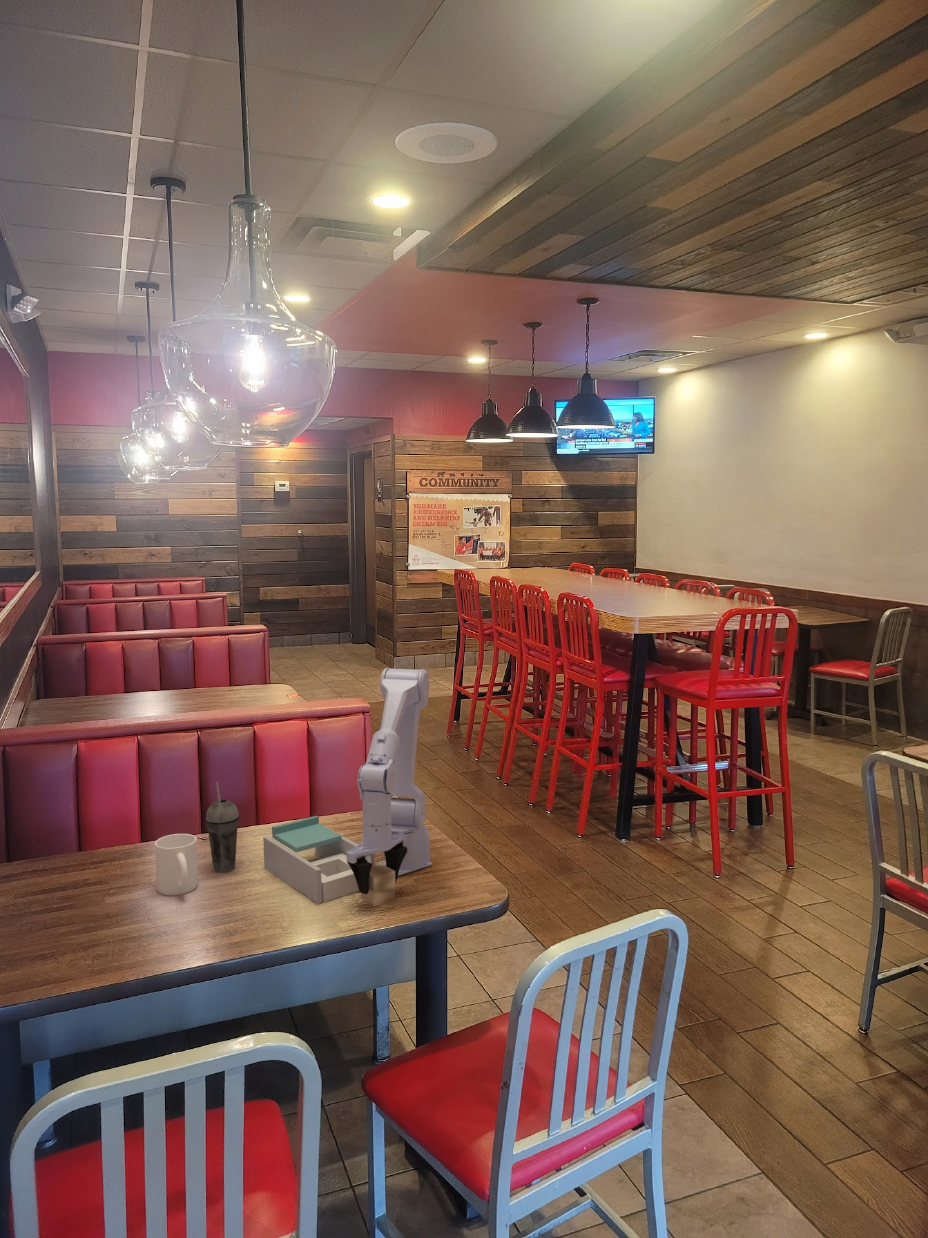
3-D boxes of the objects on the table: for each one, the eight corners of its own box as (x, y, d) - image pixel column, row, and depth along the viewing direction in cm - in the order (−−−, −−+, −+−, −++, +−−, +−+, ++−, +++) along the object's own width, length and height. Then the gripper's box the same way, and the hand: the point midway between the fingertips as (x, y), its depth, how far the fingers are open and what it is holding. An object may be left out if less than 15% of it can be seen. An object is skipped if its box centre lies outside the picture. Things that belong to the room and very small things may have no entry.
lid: (316, 826, 197) (316, 815, 197) (341, 840, 189) (341, 829, 188) (272, 837, 190) (271, 826, 190) (296, 852, 182) (296, 841, 181)
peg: (381, 891, 179) (381, 863, 179) (395, 899, 175) (395, 871, 175) (361, 898, 176) (360, 869, 175) (374, 906, 172) (374, 877, 172)
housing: (319, 852, 200) (318, 823, 199) (375, 885, 182) (374, 853, 181) (264, 867, 191) (263, 837, 190) (317, 904, 173) (316, 870, 172)
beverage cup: (248, 866, 192) (245, 779, 189) (223, 878, 186) (219, 788, 183) (225, 860, 196) (222, 774, 193) (200, 871, 189) (196, 782, 187)
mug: (206, 898, 176) (204, 849, 175) (164, 907, 172) (162, 857, 171) (193, 877, 186) (191, 831, 185) (153, 885, 182) (151, 838, 181)
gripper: (390, 808, 182) (391, 870, 183) (336, 826, 171) (337, 892, 173) (413, 816, 177) (414, 880, 179) (359, 835, 167) (360, 902, 168)
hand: (378, 886), depth 175 cm, fingers open, 7 cm apart
